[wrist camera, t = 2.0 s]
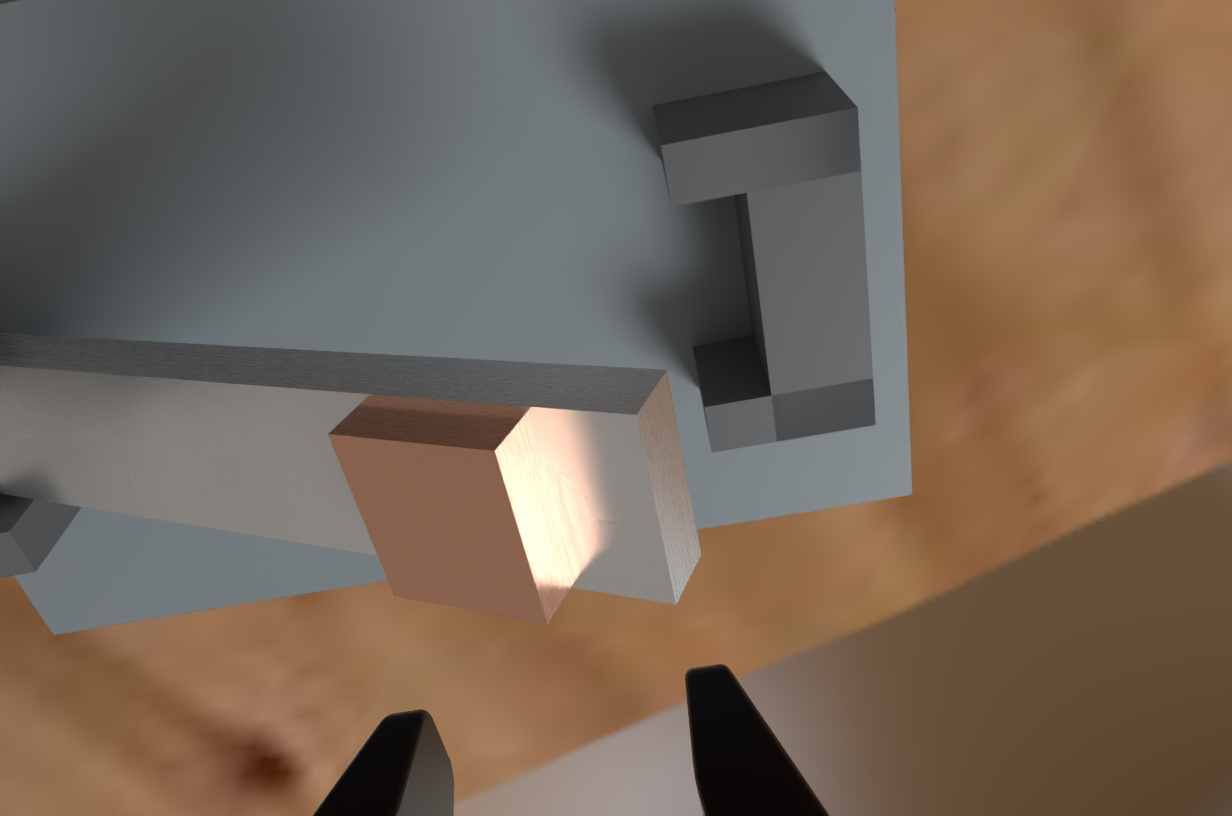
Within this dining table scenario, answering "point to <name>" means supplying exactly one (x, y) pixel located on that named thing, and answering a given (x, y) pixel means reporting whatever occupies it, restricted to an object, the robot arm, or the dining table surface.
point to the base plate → (462, 232)
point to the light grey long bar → (369, 460)
